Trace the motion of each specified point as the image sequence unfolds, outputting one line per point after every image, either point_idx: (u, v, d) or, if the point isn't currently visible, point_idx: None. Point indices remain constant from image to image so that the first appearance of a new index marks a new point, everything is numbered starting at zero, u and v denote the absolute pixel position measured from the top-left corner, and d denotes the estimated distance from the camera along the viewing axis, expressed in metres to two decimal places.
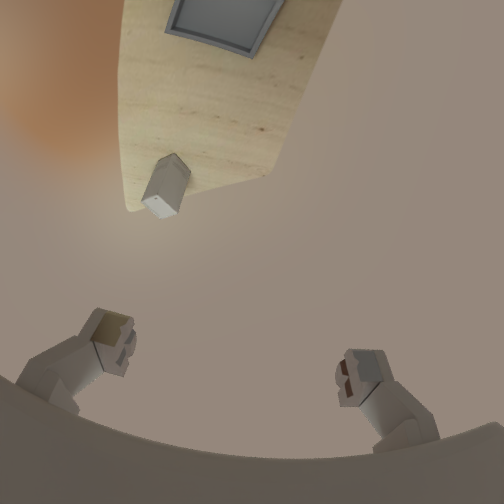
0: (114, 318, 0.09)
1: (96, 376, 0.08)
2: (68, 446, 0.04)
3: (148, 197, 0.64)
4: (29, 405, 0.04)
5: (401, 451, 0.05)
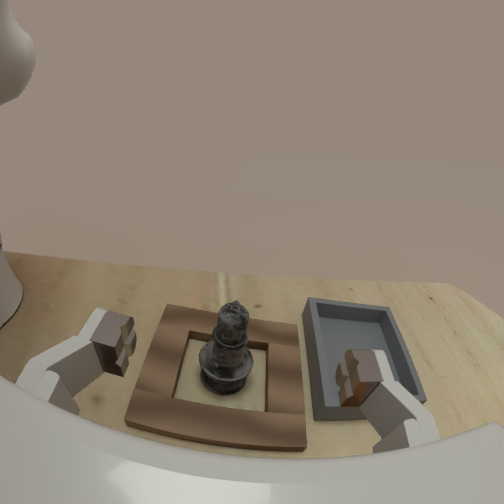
0: (114, 318, 0.09)
1: (96, 376, 0.08)
2: (68, 446, 0.04)
3: None
4: (29, 405, 0.04)
5: (401, 451, 0.05)
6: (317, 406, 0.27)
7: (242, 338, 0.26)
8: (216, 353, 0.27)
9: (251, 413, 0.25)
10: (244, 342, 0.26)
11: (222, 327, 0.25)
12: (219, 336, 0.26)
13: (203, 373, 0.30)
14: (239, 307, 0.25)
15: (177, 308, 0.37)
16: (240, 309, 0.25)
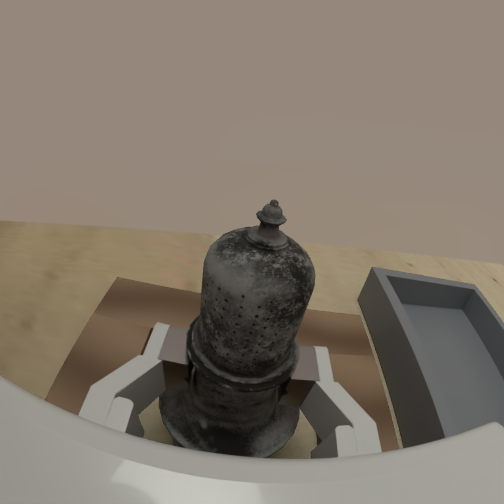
0: (180, 333, 0.09)
1: (158, 394, 0.08)
2: (68, 446, 0.04)
3: None
4: (29, 405, 0.04)
5: (401, 451, 0.05)
6: None
7: (287, 351, 0.07)
8: (202, 393, 0.08)
9: None
10: (291, 363, 0.08)
11: (218, 312, 0.06)
12: (207, 346, 0.07)
13: None
14: (283, 234, 0.07)
15: (135, 285, 0.18)
16: (286, 242, 0.07)
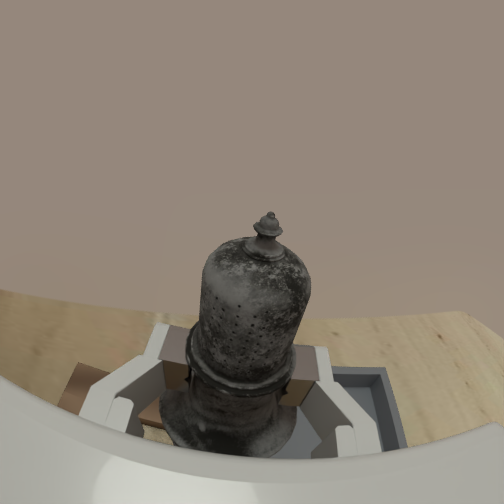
0: (180, 333, 0.09)
1: (158, 394, 0.08)
2: (68, 446, 0.04)
3: None
4: (29, 405, 0.04)
5: (401, 451, 0.05)
6: None
7: (283, 358, 0.08)
8: (200, 397, 0.09)
9: None
10: (288, 369, 0.08)
11: (216, 320, 0.07)
12: (205, 351, 0.07)
13: None
14: (280, 244, 0.07)
15: (89, 370, 0.23)
16: (283, 253, 0.07)
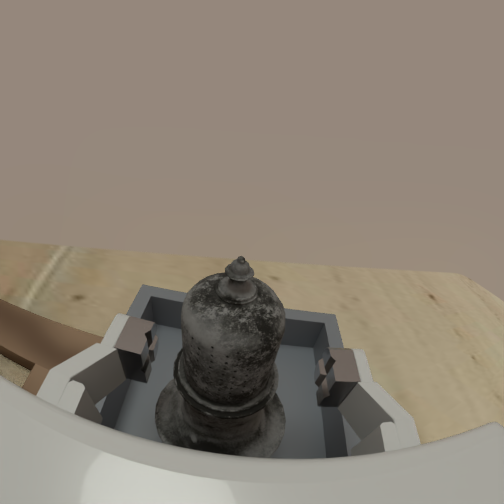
0: (138, 324, 0.09)
1: (118, 383, 0.08)
2: (68, 446, 0.04)
3: None
4: (29, 405, 0.04)
5: (401, 451, 0.05)
6: None
7: (262, 384, 0.08)
8: (191, 412, 0.09)
9: None
10: (269, 392, 0.08)
11: (194, 355, 0.07)
12: (190, 378, 0.08)
13: None
14: (253, 285, 0.07)
15: None
16: (255, 293, 0.07)
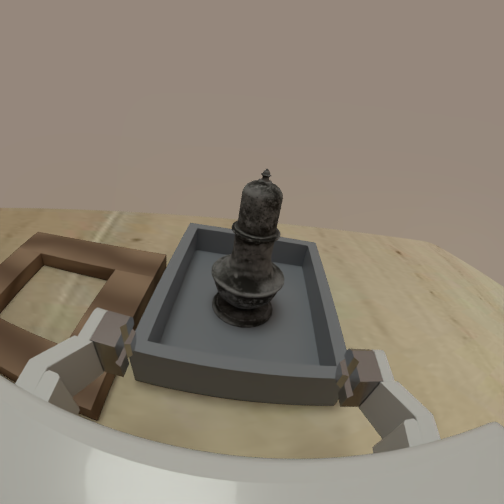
0: (114, 318, 0.09)
1: (96, 376, 0.08)
2: (68, 446, 0.04)
3: None
4: (29, 405, 0.04)
5: (401, 451, 0.05)
6: None
7: (273, 227, 0.20)
8: (236, 256, 0.21)
9: (45, 342, 0.15)
10: (276, 235, 0.20)
11: (248, 206, 0.19)
12: (242, 224, 0.20)
13: (216, 301, 0.24)
14: (270, 181, 0.19)
15: (44, 235, 0.27)
16: (271, 183, 0.19)
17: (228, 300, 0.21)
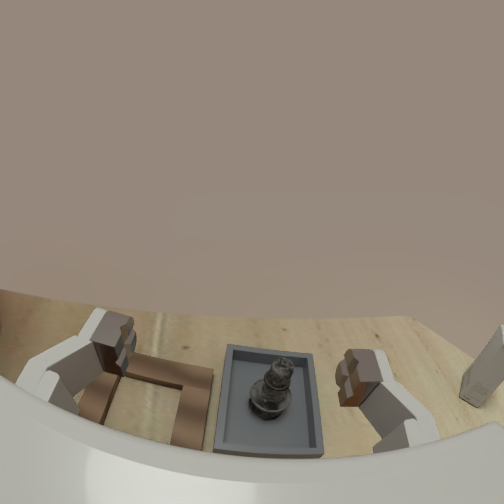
0: (114, 318, 0.09)
1: (96, 376, 0.08)
2: (68, 446, 0.04)
3: None
4: (29, 405, 0.04)
5: (401, 451, 0.05)
6: None
7: (288, 382, 0.32)
8: (266, 392, 0.33)
9: None
10: (289, 384, 0.32)
11: (275, 376, 0.31)
12: (270, 381, 0.32)
13: (250, 404, 0.36)
14: (288, 362, 0.31)
15: None
16: (288, 364, 0.31)
17: (260, 410, 0.34)
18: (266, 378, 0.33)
